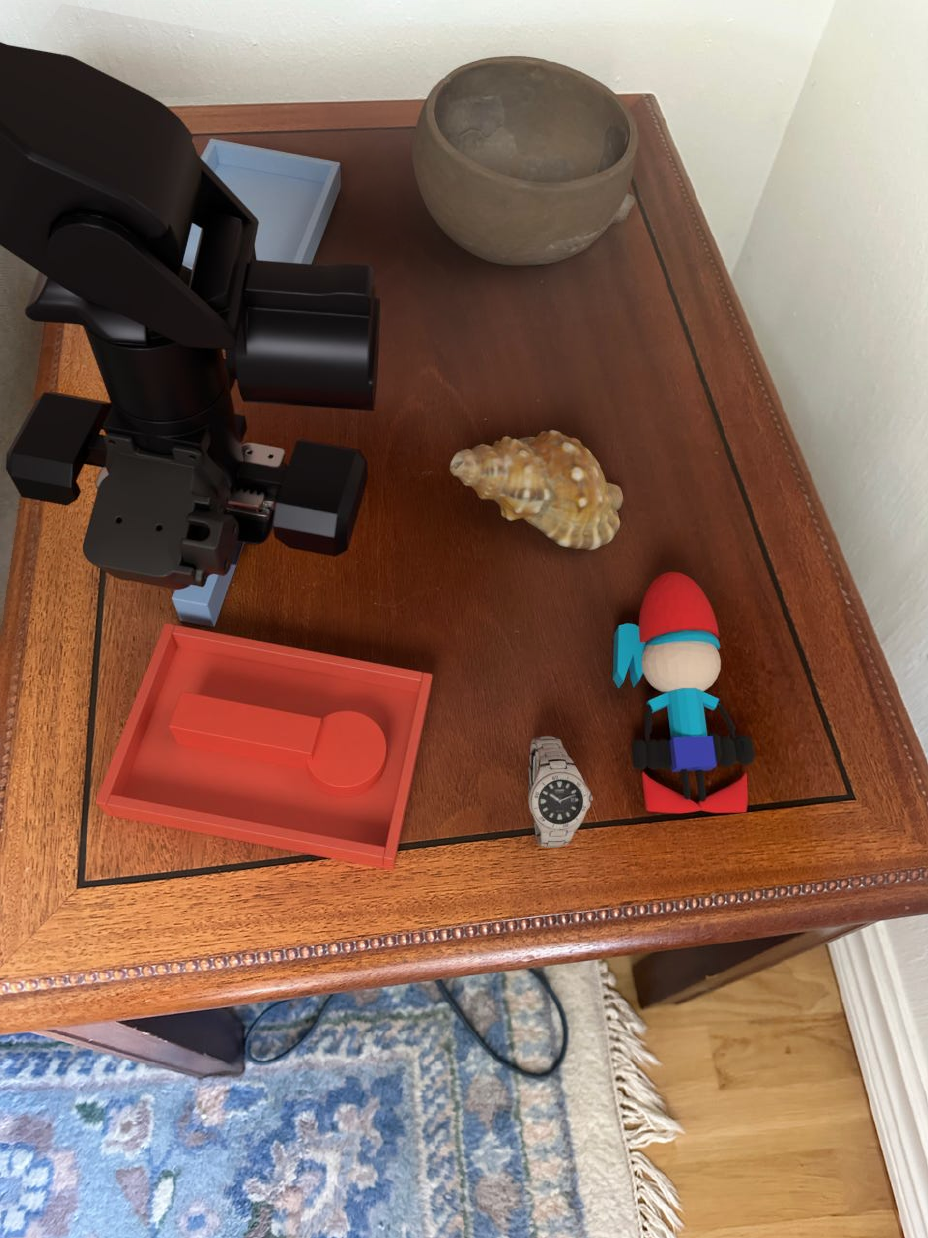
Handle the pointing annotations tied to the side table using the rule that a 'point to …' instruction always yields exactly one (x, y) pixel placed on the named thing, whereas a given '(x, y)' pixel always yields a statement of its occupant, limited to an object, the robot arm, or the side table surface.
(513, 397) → the side table surface
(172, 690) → the red tray
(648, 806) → the toy figure
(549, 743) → the wristwatch
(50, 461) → the robot arm
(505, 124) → the bowl
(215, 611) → the blue spoon
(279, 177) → the blue tray
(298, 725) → the red spoon
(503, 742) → the side table surface
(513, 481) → the seashell
